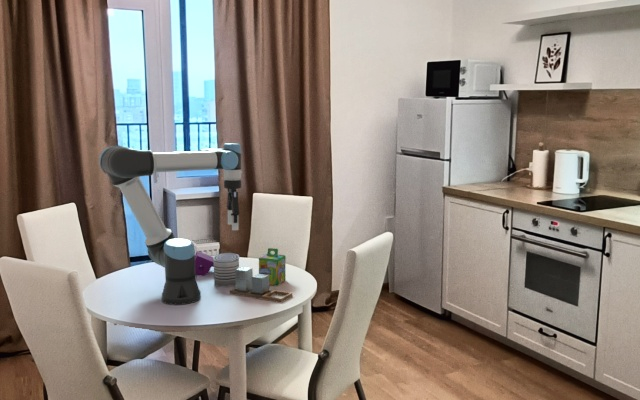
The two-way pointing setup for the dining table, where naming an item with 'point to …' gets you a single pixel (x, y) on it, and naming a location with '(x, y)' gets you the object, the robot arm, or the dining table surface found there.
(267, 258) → the chalk box
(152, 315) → the dining table surface
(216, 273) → the can
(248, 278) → the grey square block
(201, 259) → the mounting bracket
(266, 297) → the wooden ladder rack
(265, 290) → the gray square block
